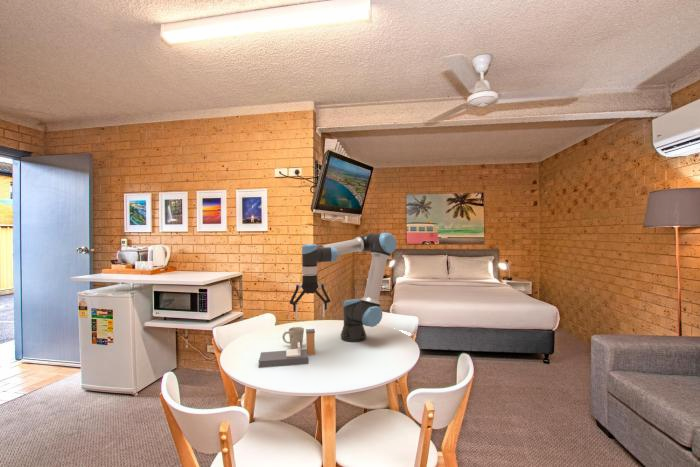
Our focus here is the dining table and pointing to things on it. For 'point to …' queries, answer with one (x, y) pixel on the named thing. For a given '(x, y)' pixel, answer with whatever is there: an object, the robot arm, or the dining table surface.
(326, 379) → the dining table surface
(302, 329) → the mug
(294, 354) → the panel
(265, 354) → the socket
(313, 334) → the plug
